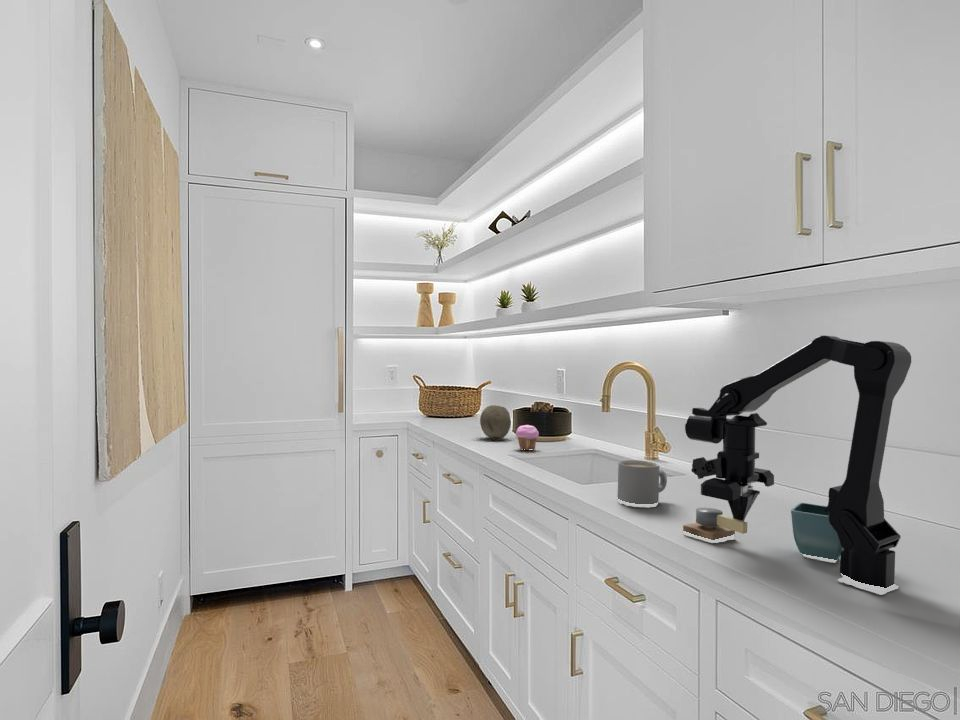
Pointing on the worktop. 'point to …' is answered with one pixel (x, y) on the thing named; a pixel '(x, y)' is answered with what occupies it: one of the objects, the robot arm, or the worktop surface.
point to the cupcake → (527, 436)
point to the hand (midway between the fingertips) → (738, 526)
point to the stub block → (708, 531)
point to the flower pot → (815, 531)
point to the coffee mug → (640, 481)
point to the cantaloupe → (495, 422)
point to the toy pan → (719, 520)
